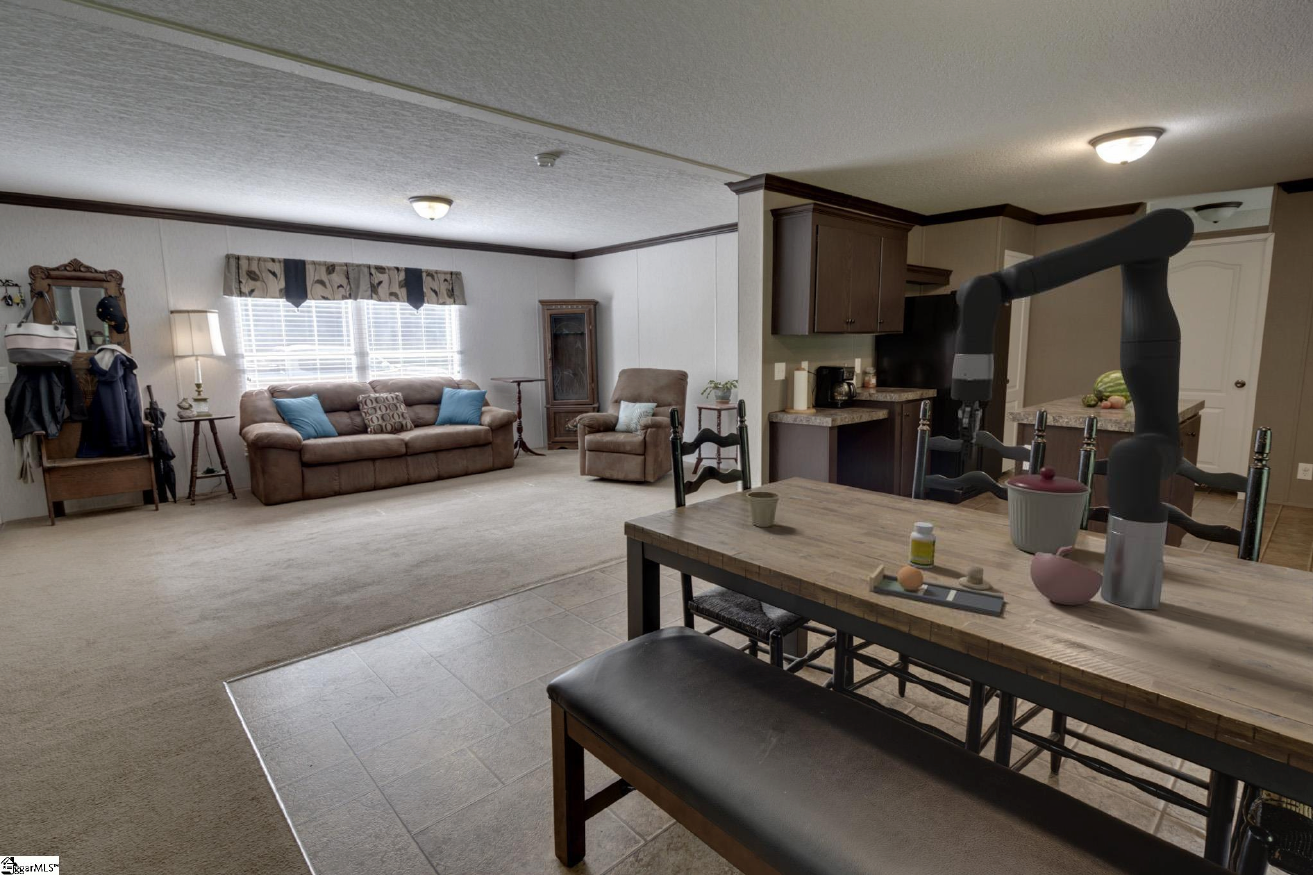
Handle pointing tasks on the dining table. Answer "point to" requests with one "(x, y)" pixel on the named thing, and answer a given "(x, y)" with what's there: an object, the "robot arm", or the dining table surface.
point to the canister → (1045, 511)
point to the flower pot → (763, 507)
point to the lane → (938, 594)
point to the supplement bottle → (922, 546)
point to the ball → (910, 578)
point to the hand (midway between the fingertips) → (966, 459)
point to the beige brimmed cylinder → (974, 579)
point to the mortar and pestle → (1064, 578)
